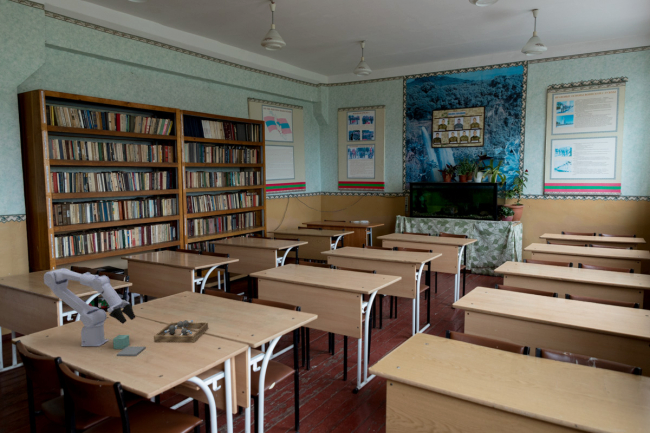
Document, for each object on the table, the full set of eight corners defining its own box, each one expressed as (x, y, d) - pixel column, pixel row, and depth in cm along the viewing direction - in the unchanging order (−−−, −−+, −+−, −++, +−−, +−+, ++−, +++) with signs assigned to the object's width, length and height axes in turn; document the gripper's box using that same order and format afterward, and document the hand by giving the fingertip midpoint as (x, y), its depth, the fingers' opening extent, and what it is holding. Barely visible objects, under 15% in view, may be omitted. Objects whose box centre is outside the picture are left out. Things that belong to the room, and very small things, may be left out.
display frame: (154, 342, 211) (153, 336, 211) (171, 327, 231) (171, 322, 230) (194, 342, 209) (193, 336, 209) (208, 328, 229) (208, 322, 229)
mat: (116, 355, 195) (116, 354, 195) (127, 348, 204) (127, 346, 204) (135, 356, 194) (135, 354, 194) (145, 348, 203) (145, 346, 203)
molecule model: (171, 348, 221) (171, 342, 212) (163, 333, 223) (162, 327, 215) (198, 333, 228) (199, 326, 219) (190, 319, 231) (190, 311, 222)
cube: (113, 349, 204) (113, 338, 203) (119, 345, 209) (118, 334, 208) (124, 349, 203) (123, 338, 203) (129, 345, 208) (128, 334, 208)
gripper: (109, 295, 199) (126, 318, 198) (126, 290, 213) (143, 312, 212) (97, 304, 200) (115, 328, 199) (116, 299, 214) (132, 320, 213)
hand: (129, 320), depth 206 cm, fingers open, 7 cm apart
